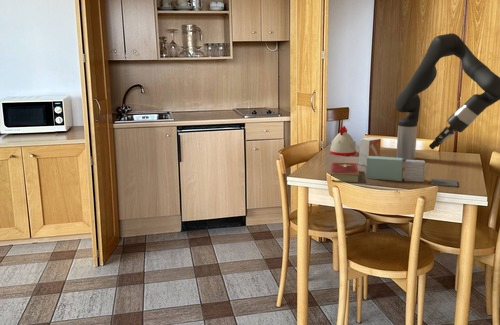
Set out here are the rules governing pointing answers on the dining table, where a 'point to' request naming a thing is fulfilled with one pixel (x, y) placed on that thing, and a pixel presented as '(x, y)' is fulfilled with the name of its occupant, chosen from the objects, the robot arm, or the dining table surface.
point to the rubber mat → (444, 182)
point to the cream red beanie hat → (343, 144)
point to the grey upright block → (414, 170)
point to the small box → (368, 149)
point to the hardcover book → (345, 171)
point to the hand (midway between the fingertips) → (432, 146)
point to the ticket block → (384, 168)
